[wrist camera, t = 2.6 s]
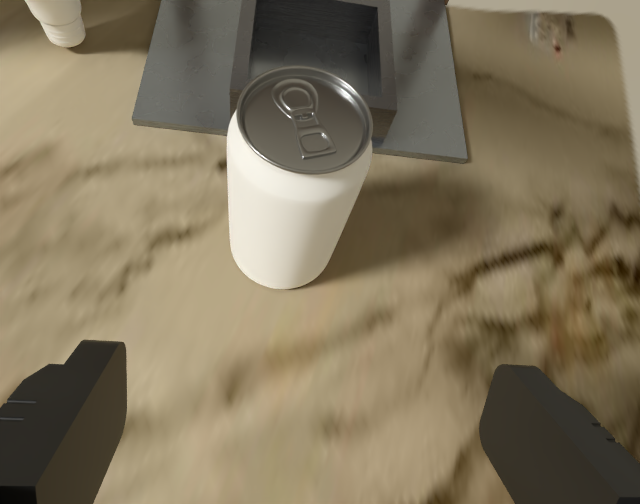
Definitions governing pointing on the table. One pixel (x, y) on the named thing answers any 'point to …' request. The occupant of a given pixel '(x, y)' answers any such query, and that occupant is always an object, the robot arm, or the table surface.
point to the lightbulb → (60, 20)
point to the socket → (308, 50)
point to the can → (294, 172)
